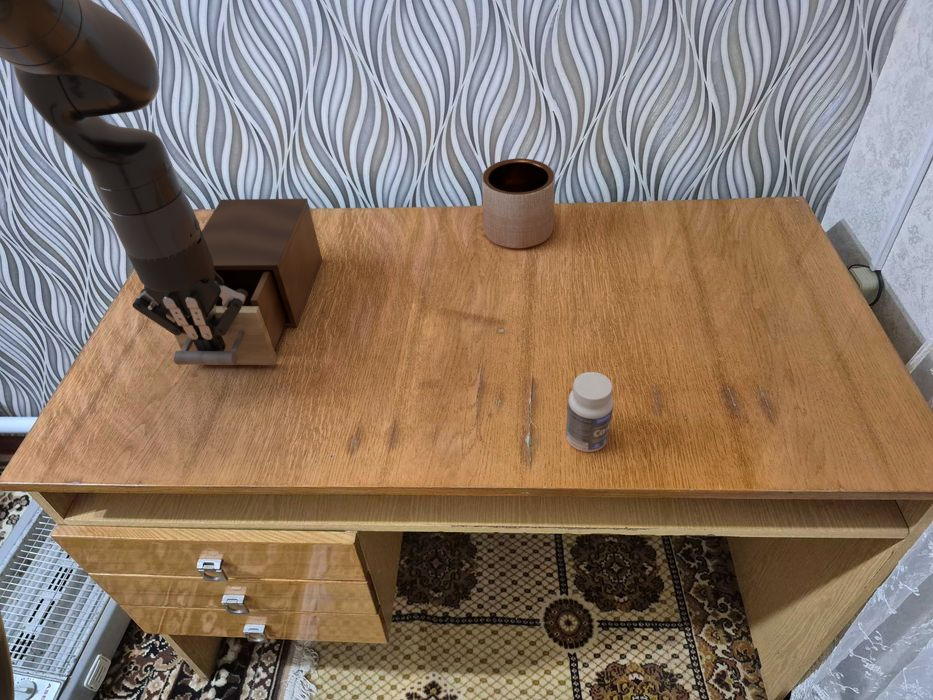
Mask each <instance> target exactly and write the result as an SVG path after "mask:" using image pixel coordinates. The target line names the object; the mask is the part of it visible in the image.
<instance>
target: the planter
mask: <svg viewBox="0 0 933 700" xmlns="http://www.w3.org/2000/svg"><path fill="white" fill-rule="evenodd" d="M481 185H482V186H481V187H482V226H483V227H482V228H483V232H484V235H485V237H486V238H487V239H488V240H489V241H490V242H492V243H493V244H496V245H498V246H500V247H504V248H509V249H519V250H520V249H527V248H532V247H534V246H538V245H540V244H542V243H544V242H546V241H547V240H549V238H550V237H551V235H552V234H553V231H554V224H555V221H554V219H555V186H556V174H555V171H554V170H553V169H552V167H551V166H549V165H548V164H547V163H545V162H542V161H539V160H536V159H531V158H509V159H503V160H499V161H497V162H494V163H493V164H491V165H490V166H488V167H487V168H486V169H485V170H484V171H483V172H482V175H481Z"/></svg>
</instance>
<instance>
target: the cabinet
mask: <svg viewBox="0 0 933 700" xmlns="http://www.w3.org/2000/svg"><path fill="white" fill-rule="evenodd" d="M310 208H311V207H310V204H309V201H308V198H244V199H242V198H240V199H239V198H238V199H237V198H235V199H220V200H219V203H218V204H217V206H216V207H215V209H214V211H213V212H212V214H211V215H210V217H209V218H208V220H207V222H205V223H206V224H205V225H204V227H203V228H202V229H201V231H202V234H203V236H204V239H205V241H206V244H207V246H208V249H209V251H210V254H211V257H212V260H213V265H214V270H273V272H274V275H275V278H276V281H277V284H278V287H279V290H280V293H281V297H282V300H283V303H284V306H285V309H286V312H287V315H288V316H287V319H286V321H285V324H284V326H283V329H297V328H298V326H299V324H300V321H301V318H302V315H303V314H304V313H303V312H304V310H305V307H306V306H307V305H306V304H307V302H308V300H309V296H310V294H311V291H312V288H313V285H314V283H315V280H316V277H317V275H318V272H319V269H320V266H321V264H322V261H323V257H322V253H321V248H320V245H319V240H318V236H317V233H316V229H315V228H316V227H315V224H314V221H313V220H314V219H313V217H312V213H311V209H310Z"/></svg>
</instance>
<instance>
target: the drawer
mask: <svg viewBox="0 0 933 700" xmlns="http://www.w3.org/2000/svg"><path fill="white" fill-rule="evenodd" d="M215 272H216V273H217V274H218V275H219V276H220V277H221V278H222V279H223V281H224V286H226V287H228V288H230V289H232V290H234V291H237V290H238V289H244V290H246V291H247V293H248V295H247V297H246V299H245V301H244V303H243V305H242V307H241V310H240V311H239V313H238V314H237V316H236V318H235V319H234V321H233V323H232V324H231V326H230V327H229V329H228V331H227V332H226V334H225V335H224V336H222V338H223V340H224V342H225V345H226V347H225V350H224V351H198V350H197V348H196V346H195V344H194V342H193V340H192V339H190V338H189V337H188V336H187V335H186V334H182V333H181V334H180V335H174V334H173V336H174V338H175V340H176V342H177V344H178V346H179V348H180V350H176V351H175V352H174V353H173V361H174V364H175V365H183V366H186V365H188V366H189V365H190V366H191V365H194V366H197V365H198V366H202V365H203V366H275V365H276V363H277V361H278V357H277V354H276V350H275V349H276V347H277V345H278V342H279V339H280V336H281V335H282V332H283V329H284V328H283V326H284V324H285V321H286V319H287V316H288V315H287V312H286V309H285V306H284V303H283V300H282V297H281V293H280V290H279V287H278V284H277V281H276V278H275V275H274V272H273V270H215ZM223 307H224V306H223V305H222V298H221V297H220V296H219V298H218V300H217V302H216V314H217V317H218V318H220V317H222V315H223V313H224V312H225V310H224V309H223ZM166 317H167V318H168V319H170V320H171V321H172V322H175V319H173V318H172V317H170V316H169V315H166Z"/></svg>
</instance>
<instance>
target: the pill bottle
mask: <svg viewBox="0 0 933 700" xmlns="http://www.w3.org/2000/svg"><path fill="white" fill-rule="evenodd" d="M572 385H573V386H572V390H571V391H570V393H569V395H568V400H567V410H566V412H567V413H566V421H565V437H566V441H567V442H568V444H569V445H570V446H571V447H573V448H574V449H576V450H578V451H580V452H584V453H591V452H597V451H600V450H601V449H602V448H604V447H605V446H606V444H607V442H608V440H609V436H610V430H611V425H612V417H613V411H614V405H615V404H614V403H615V402H614V397H613V384H612V381H611V379H609V377H607V375H605V374H602V373H601V372H596V371H586V372H583V373H580V374H579V375H578V376H576V377H575V378H574V381H573V384H572Z"/></svg>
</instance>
